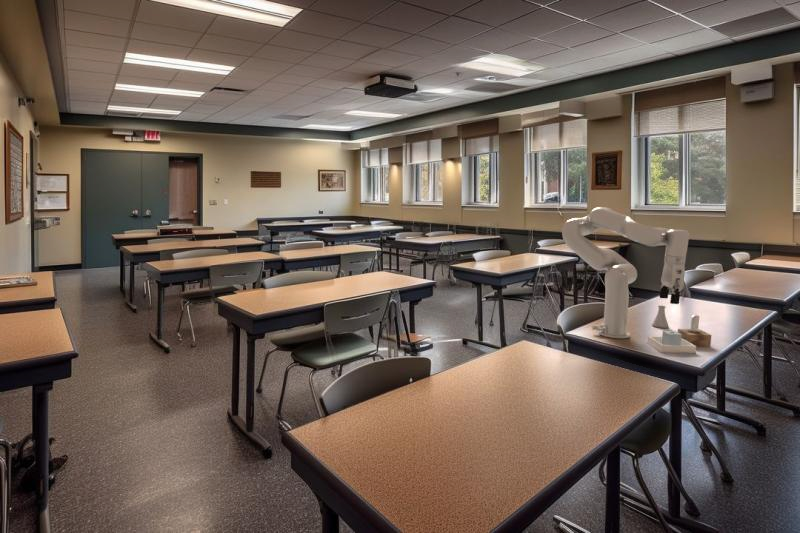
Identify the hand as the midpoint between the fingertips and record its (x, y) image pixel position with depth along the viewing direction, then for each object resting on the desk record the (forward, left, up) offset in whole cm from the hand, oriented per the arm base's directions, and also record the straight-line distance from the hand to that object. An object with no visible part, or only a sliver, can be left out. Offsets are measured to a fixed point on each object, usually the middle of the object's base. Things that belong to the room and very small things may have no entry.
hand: (668, 300), depth 199 cm
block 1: (0, -4, -18) cm, 19 cm away
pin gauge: (+13, +4, -19) cm, 23 cm away
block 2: (+13, +4, -19) cm, 23 cm away
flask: (+12, +32, -19) cm, 39 cm away
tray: (0, -4, -19) cm, 19 cm away
